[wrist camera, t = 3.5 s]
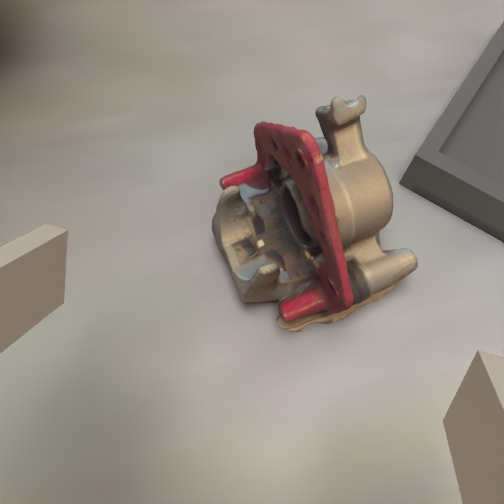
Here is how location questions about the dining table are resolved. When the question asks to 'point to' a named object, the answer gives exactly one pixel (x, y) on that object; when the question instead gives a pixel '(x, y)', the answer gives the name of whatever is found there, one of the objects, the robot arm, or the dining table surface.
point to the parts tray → (468, 148)
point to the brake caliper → (310, 221)
